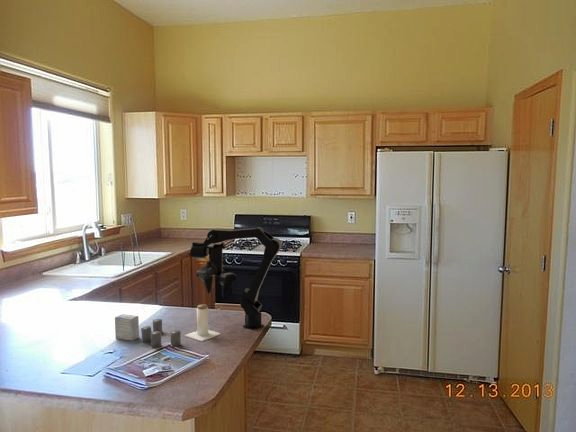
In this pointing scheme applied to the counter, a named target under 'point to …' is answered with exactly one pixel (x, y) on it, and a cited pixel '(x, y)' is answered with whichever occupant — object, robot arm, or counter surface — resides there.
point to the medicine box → (126, 327)
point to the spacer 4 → (175, 338)
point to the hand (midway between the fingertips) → (216, 294)
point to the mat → (202, 338)
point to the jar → (202, 320)
